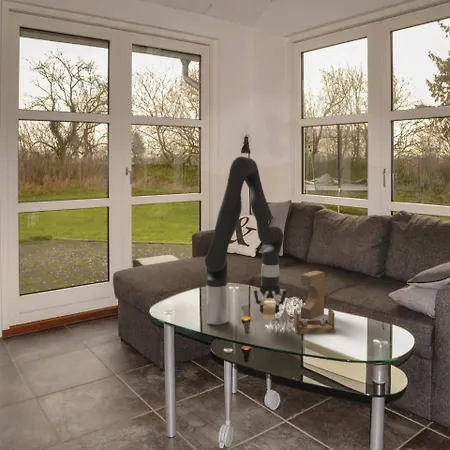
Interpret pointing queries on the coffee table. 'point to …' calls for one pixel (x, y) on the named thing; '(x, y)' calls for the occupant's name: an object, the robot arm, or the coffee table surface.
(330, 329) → the peg frame
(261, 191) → the robot arm
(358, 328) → the coffee table surface
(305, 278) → the decorative block
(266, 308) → the plank
